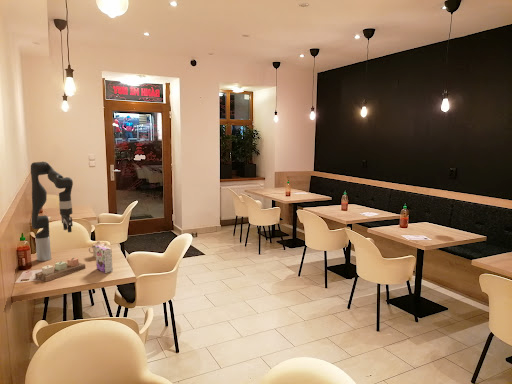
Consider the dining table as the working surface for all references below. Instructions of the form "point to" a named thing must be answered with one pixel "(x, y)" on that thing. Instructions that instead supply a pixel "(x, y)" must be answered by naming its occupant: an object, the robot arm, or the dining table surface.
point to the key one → (47, 270)
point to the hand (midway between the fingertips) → (67, 231)
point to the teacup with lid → (94, 247)
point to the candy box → (104, 258)
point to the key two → (60, 266)
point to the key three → (72, 262)
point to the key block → (59, 272)
